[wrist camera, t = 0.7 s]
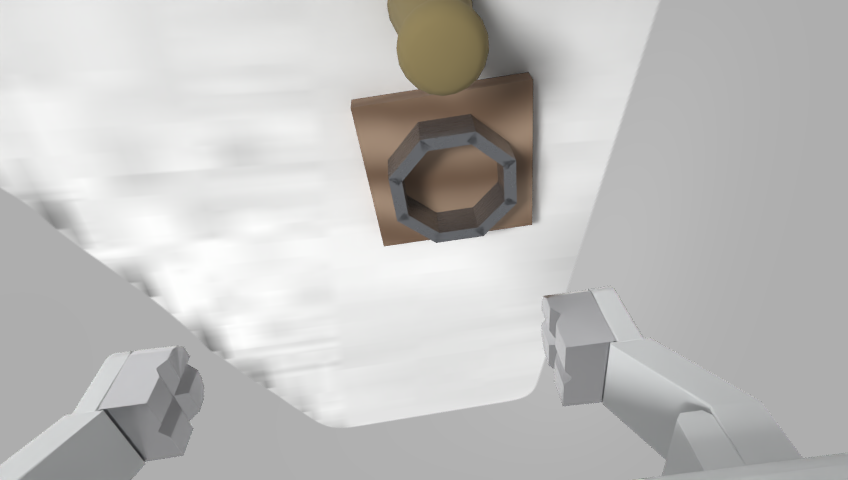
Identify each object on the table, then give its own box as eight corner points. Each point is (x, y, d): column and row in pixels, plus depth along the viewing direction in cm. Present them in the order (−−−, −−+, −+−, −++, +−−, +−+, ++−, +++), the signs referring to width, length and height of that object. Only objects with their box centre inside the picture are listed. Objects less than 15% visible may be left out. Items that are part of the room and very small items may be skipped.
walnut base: (351, 99, 39) (350, 107, 38) (528, 72, 39) (532, 79, 38) (383, 236, 48) (384, 246, 47) (528, 215, 48) (532, 224, 47)
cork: (485, -27, 34) (520, 20, 26) (454, 58, 38) (476, 123, 29) (401, -57, 33) (408, -19, 24) (377, 34, 36) (376, 95, 28)
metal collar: (381, 127, 39) (381, 145, 37) (507, 107, 39) (515, 125, 37) (401, 226, 46) (402, 247, 43) (510, 210, 46) (517, 230, 43)
